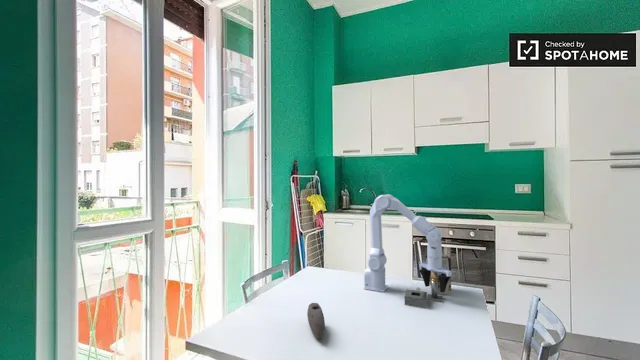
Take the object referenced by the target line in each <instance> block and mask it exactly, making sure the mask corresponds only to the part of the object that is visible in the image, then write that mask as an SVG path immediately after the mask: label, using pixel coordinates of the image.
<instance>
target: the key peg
mask: <svg viewBox="0 0 640 360" xmlns="http://www.w3.org/2000/svg"><path fill="white" fill-rule="evenodd" d="M430 290H431V293H430V294H431V297H432V298H434V299H437V295H438V294H437V278H431V288H430Z"/></svg>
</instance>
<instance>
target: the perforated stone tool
mask: <svg viewBox="0 0 640 360" xmlns="http://www.w3.org/2000/svg"><path fill="white" fill-rule="evenodd" d="M322 309H323V308H322V307H321V306H320V304H319V303H318V302H311V303H310V304H309V305H308V308H307V314H306V315H307V321H308V325H309V328H310V329H311V332H312V334H313V335H314V337H315V338H316V339H318V340H321V339H323V337H324V335H325V332H326V331H325V330H326V323H325V317H324V313H323V310H322Z"/></svg>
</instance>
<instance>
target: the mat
mask: <svg viewBox="0 0 640 360" xmlns="http://www.w3.org/2000/svg"><path fill="white" fill-rule="evenodd" d="M443 297H444V296H443V295H440V294H437V299H434V298H432V297H431V293H427V301H431V302H436V303H443V302H444V301H443V300H444V299H443Z"/></svg>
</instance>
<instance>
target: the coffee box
mask: <svg viewBox="0 0 640 360" xmlns="http://www.w3.org/2000/svg"><path fill="white" fill-rule="evenodd" d="M442 267H443V268H445V269H447V270H449V271H451V272H452V257H449V256H448V255H446V254H444V253H443V252H442ZM438 275H441V274H440V273H437V272H433V271H431V274H430V286H429V288H430V289H431V278H437V295H452V277H451V278H450V279H449V281H448V283H447V286H446V289H445V292H440V282H439V278H438Z"/></svg>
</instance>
